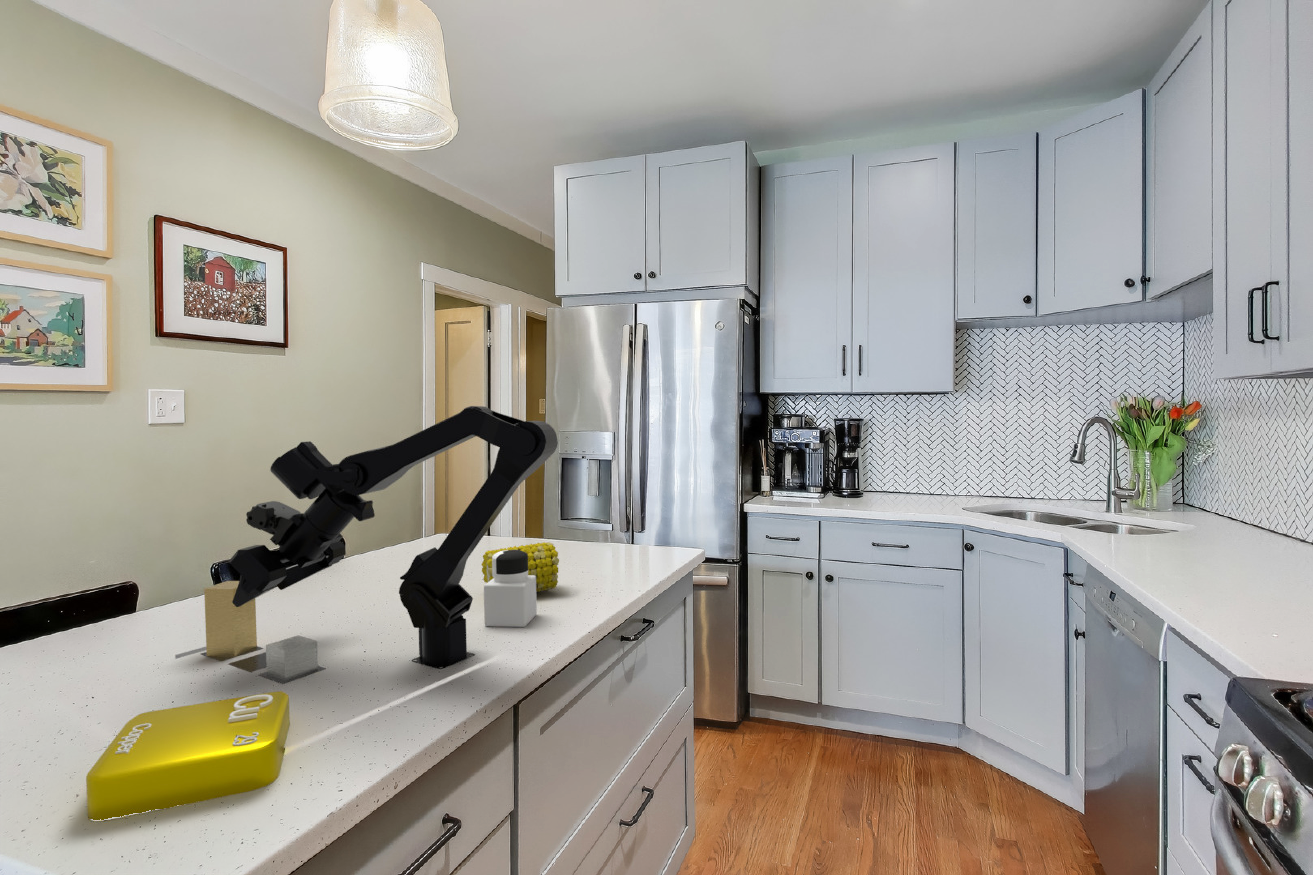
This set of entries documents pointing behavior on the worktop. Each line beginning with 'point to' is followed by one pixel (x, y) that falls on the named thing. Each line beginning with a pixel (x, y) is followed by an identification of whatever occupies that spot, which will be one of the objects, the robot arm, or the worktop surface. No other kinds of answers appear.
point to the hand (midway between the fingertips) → (258, 595)
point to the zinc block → (291, 657)
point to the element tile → (190, 755)
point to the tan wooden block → (228, 622)
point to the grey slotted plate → (249, 663)
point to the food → (531, 564)
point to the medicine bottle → (510, 591)
